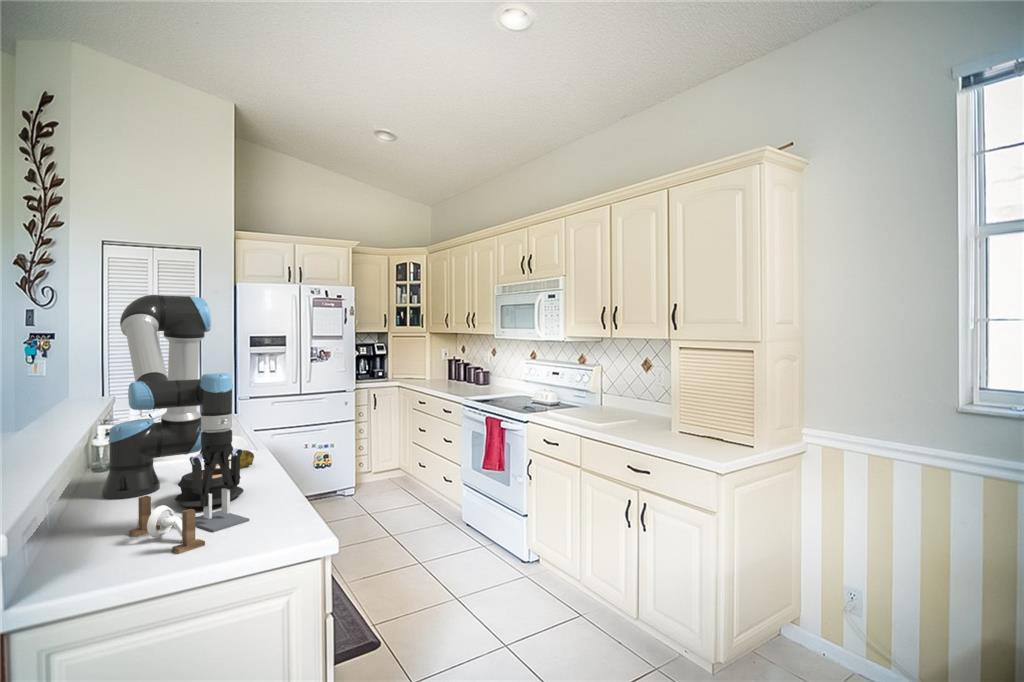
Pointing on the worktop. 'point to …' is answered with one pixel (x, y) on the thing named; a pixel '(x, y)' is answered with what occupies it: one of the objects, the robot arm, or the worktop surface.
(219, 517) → the mat
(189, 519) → the rack
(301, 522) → the worktop surface
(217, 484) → the casserole
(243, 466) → the potato
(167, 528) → the white vr controller
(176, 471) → the worktop surface
